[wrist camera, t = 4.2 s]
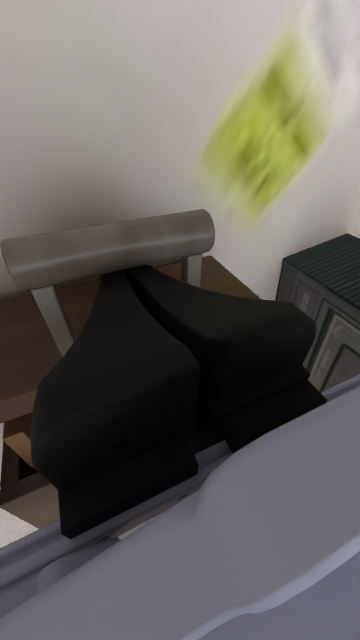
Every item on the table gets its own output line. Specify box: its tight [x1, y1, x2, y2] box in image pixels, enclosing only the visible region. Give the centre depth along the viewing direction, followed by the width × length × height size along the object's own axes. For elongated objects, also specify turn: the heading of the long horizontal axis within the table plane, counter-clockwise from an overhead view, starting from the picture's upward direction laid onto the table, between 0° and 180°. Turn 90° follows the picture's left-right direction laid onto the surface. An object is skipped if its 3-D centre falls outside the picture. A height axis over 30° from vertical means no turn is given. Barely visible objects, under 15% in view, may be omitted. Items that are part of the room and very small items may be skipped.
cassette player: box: [276, 234, 360, 393], centre depth 25 cm, size 29×7×20 cm, turn 8°
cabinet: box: [0, 441, 60, 529], centre depth 20 cm, size 13×15×8 cm
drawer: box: [0, 209, 262, 473], centre depth 14 cm, size 16×13×6 cm
